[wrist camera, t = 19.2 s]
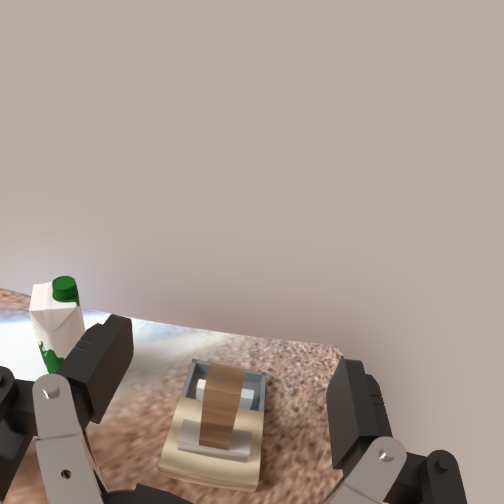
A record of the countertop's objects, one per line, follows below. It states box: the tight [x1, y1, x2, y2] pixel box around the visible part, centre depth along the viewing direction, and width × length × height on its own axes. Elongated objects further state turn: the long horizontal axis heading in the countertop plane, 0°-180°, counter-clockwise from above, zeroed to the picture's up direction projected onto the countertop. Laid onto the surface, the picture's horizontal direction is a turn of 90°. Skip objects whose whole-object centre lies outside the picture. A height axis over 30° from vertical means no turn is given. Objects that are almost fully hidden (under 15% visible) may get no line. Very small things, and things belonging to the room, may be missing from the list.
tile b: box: [238, 389, 254, 410], centre depth 51 cm, size 4×4×2 cm
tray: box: [181, 359, 266, 412], centre depth 53 cm, size 10×14×3 cm
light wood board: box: [158, 396, 264, 493], centre depth 42 cm, size 14×14×4 cm
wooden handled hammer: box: [177, 363, 252, 463], centre depth 37 cm, size 4×10×16 cm, turn 85°
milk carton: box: [29, 276, 85, 374], centre depth 45 cm, size 9×9×20 cm
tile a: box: [196, 379, 206, 401], centre depth 51 cm, size 4×4×2 cm
